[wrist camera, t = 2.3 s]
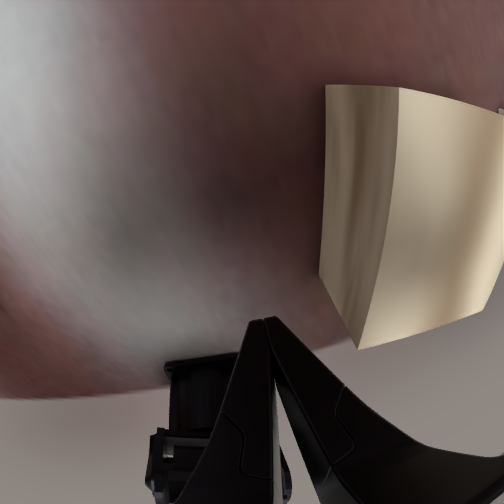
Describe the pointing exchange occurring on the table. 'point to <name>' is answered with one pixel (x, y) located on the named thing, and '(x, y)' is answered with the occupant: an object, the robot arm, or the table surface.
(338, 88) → the block
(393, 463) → the robot arm
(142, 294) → the table surface
